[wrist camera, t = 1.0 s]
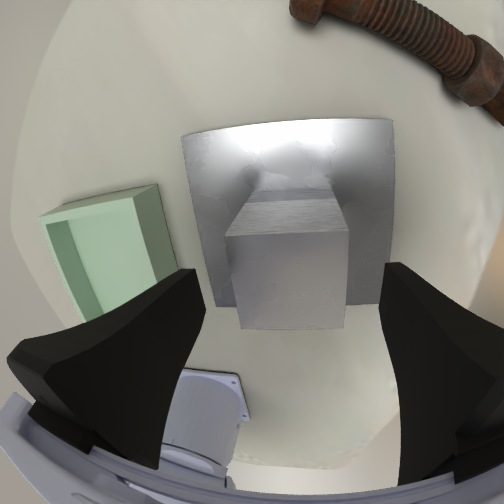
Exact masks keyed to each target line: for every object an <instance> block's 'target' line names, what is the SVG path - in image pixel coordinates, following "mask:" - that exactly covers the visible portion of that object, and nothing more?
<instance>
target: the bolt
mask: <svg viewBox="0 0 504 504" xmlns="http://www.w3.org/2000/svg"><path fill="white" fill-rule="evenodd" d="M289 10H290V14H291V16H293V17H294V18H297V19H301V20H304V21H307V22H309V23H312V24H316V23H317V22H318V21H319V20H320V18H321V15H322V13H323V11H326V12H328V13H331V14H334V15H336V16H339V17H341V18H344V19H346V20H348V21H351V22H356V23H361V24H362V25H363V26H365V25H368V28H369V29H370V28H372V27H373V30H374V31H378V30H379V34H383V33H384V36H385V37H389V38H390V40H395V42H396V43H400V44H401V46H405V47H406V49H411V52H413V53H415V52H416V55H417V56H421V58H422V59H425V60H426V61H427V62H429V63H430V64H431V65H433V66H435V67H436V68H437V69H439V70H440V71H441V72H443V78H444V83H445V84H446V85H447V86H448V87H449V88H450V89H451V90H452V91H453V92H454V93H455V94H456V95H457V96H458V97H459V98H460V99H462V100H463V101H464V102H465V103H466V104H468V105H469V106H470V107H473V106H479V105H483V107H485V108H486V109H487V110H488V111H489V112H490V113H491V114H492V115H493V116H494V117H495V118H496V119H497V120H498V121H499V122H500V123H501V125H502V126H504V59H503V56H502V55H501V54H500V53H499V52H498V51H497V50H496V49H495V48H494V47H493V46H492V45H491V44H489V43H488V42H486V41H485V40H483V39H482V38H480V37H478V36H477V35H474V34H473V35H464V34H463V33H462V32H461V31H459V30H458V29H457V28H455V27H454V26H453V25H451V24H449V22H447V21H446V20H444V19H443V18H442V17H440V16H439V15H438V14H436V13H434V12H433V11H431V10H428V8H427V7H423V5H422V4H420V3H419V4H418V3H417V1H415V0H290V6H289Z"/></svg>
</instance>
